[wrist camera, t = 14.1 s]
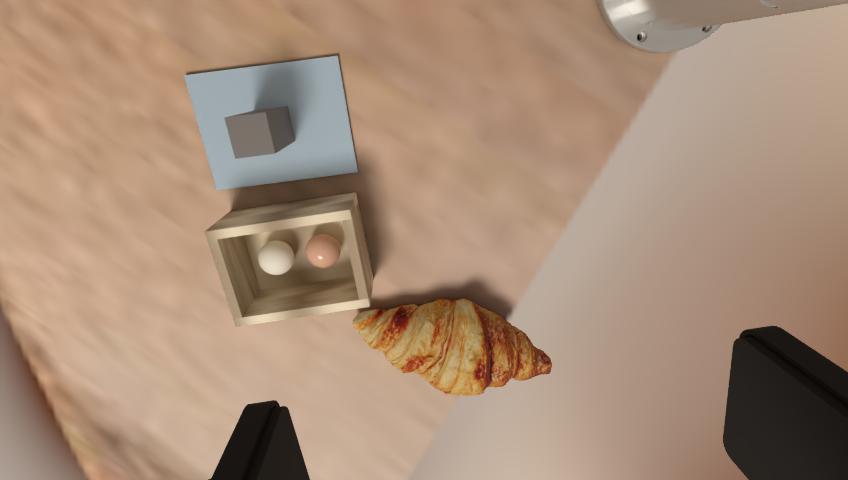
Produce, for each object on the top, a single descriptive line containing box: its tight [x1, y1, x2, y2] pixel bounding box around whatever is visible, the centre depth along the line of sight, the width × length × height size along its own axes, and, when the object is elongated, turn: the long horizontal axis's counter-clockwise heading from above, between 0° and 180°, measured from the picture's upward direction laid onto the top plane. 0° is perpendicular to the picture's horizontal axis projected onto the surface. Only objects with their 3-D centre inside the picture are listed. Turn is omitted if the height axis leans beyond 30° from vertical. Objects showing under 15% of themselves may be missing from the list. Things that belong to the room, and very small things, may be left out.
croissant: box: [353, 298, 552, 396], centre depth 46 cm, size 21×10×8 cm, turn 76°
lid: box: [184, 56, 358, 190], centre depth 37 cm, size 13×10×8 cm
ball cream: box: [258, 240, 294, 275], centre depth 42 cm, size 3×3×3 cm
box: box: [205, 192, 374, 327], centre depth 41 cm, size 12×9×6 cm
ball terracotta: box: [306, 233, 341, 268], centre depth 42 cm, size 3×3×3 cm
